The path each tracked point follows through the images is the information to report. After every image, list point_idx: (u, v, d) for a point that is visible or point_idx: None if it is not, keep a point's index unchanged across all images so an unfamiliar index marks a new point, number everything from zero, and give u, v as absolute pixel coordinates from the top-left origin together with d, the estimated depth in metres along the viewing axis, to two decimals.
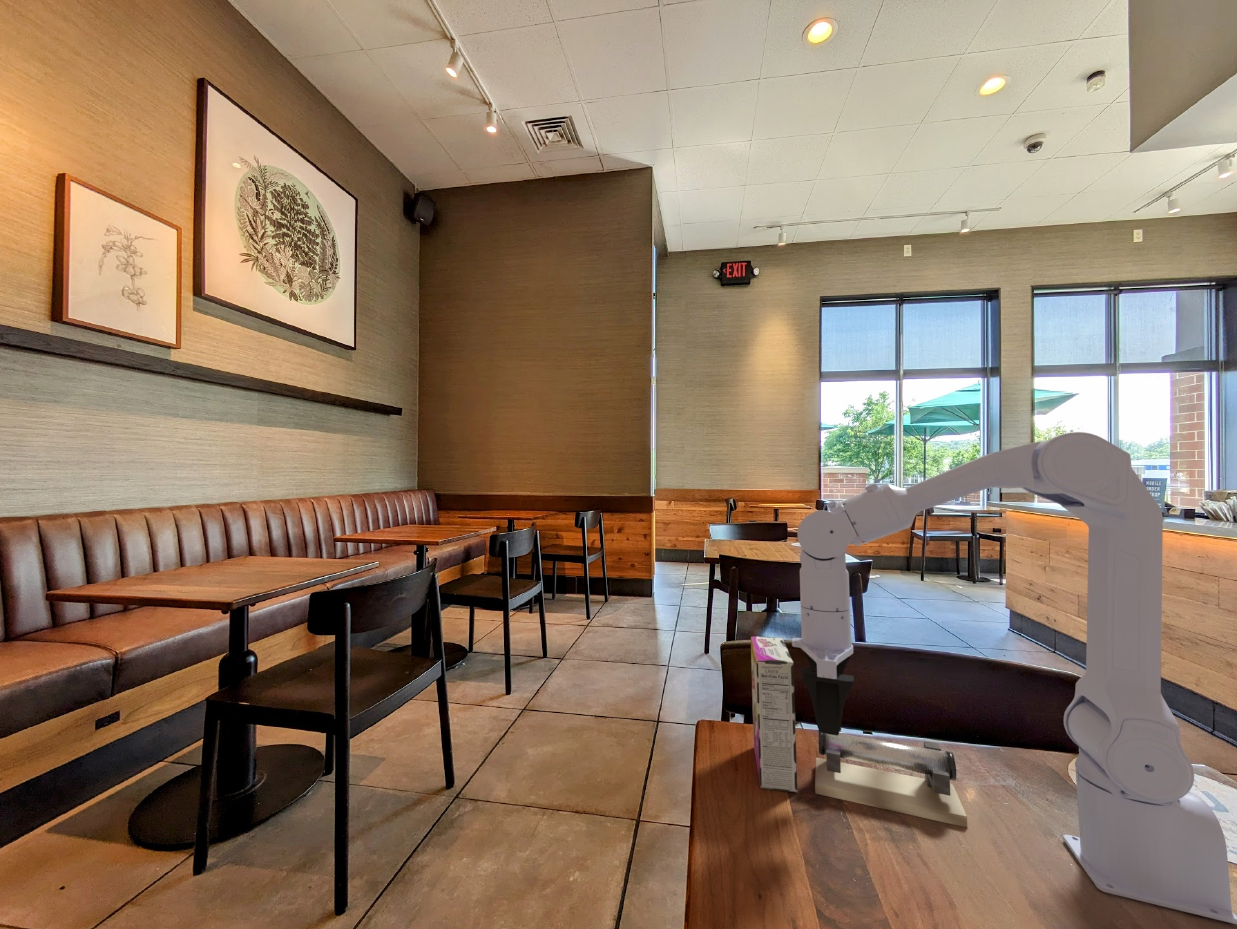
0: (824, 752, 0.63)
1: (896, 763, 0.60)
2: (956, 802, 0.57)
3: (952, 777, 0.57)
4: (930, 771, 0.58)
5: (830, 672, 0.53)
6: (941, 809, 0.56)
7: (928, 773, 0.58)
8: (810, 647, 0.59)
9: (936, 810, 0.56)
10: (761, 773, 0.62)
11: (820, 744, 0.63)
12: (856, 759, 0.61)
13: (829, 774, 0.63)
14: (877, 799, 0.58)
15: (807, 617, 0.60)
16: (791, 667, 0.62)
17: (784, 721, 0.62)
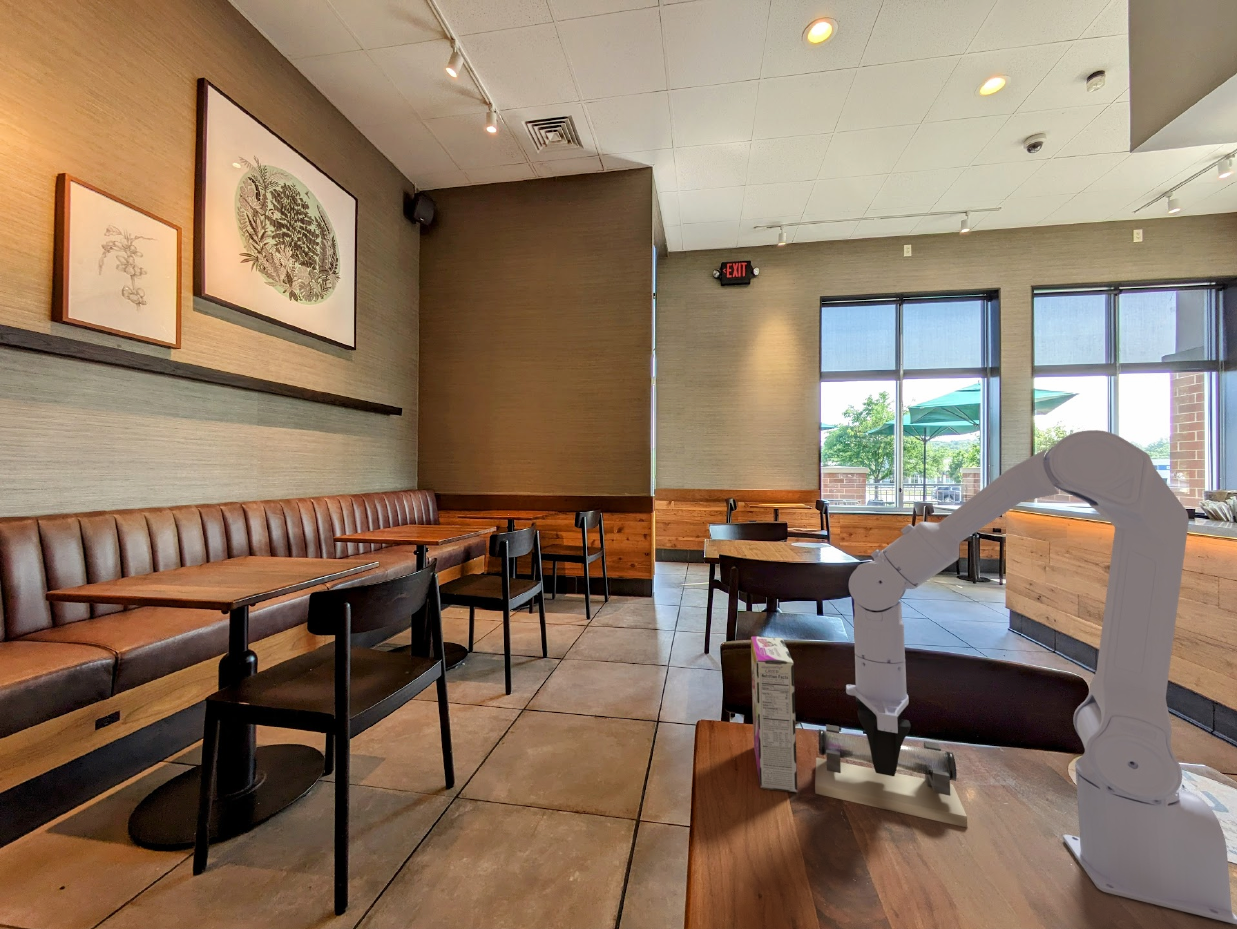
0: (824, 753, 0.63)
1: None
2: (956, 802, 0.57)
3: (952, 778, 0.57)
4: (930, 772, 0.58)
5: (891, 726, 0.55)
6: (941, 809, 0.56)
7: (928, 773, 0.58)
8: (866, 697, 0.60)
9: (936, 810, 0.56)
10: (761, 773, 0.62)
11: (820, 745, 0.63)
12: (856, 759, 0.61)
13: (829, 774, 0.63)
14: (877, 799, 0.58)
15: (863, 667, 0.61)
16: (791, 667, 0.62)
17: (784, 721, 0.62)
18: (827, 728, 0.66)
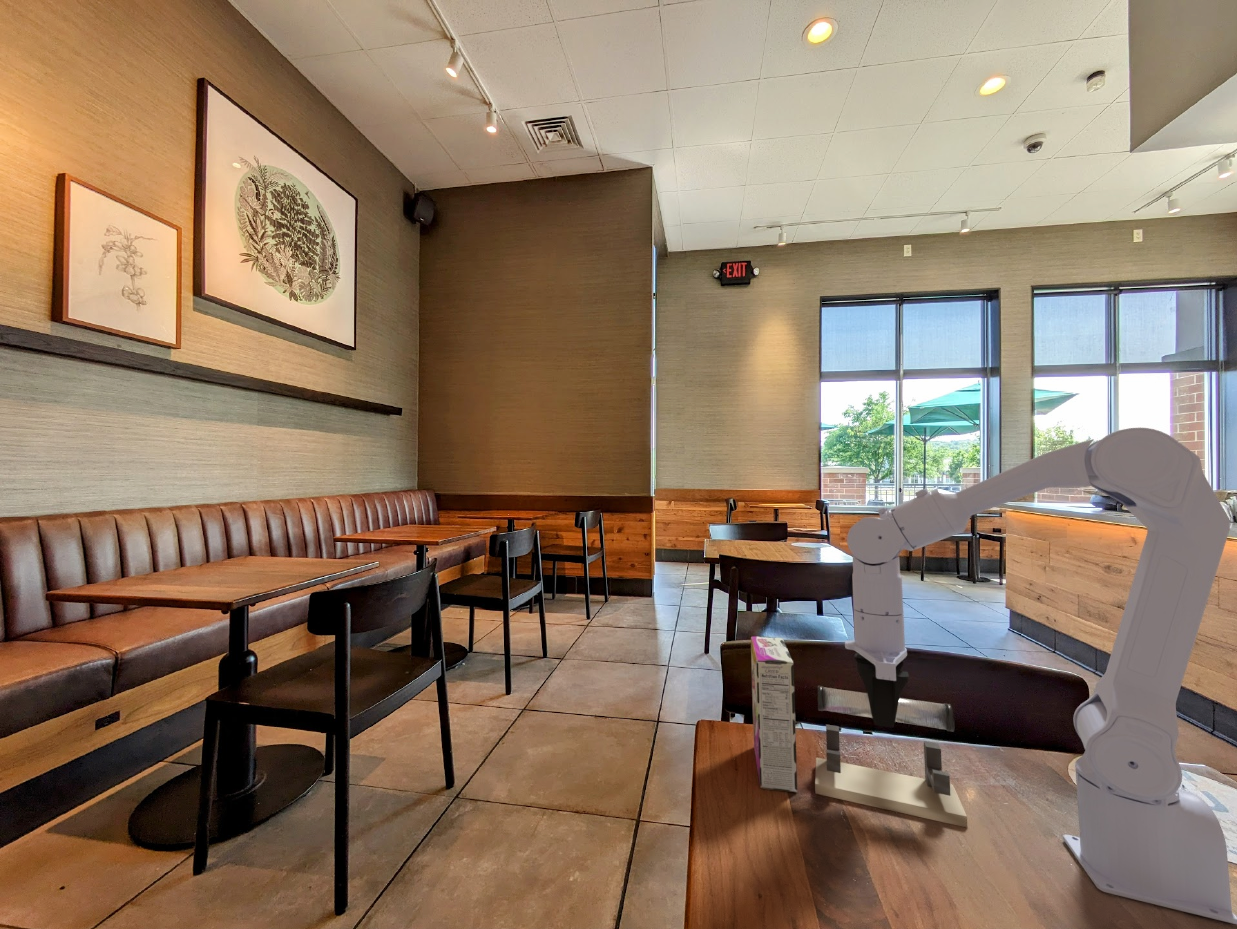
0: (823, 708, 0.63)
1: None
2: (956, 802, 0.57)
3: (950, 728, 0.58)
4: (928, 723, 0.59)
5: (889, 674, 0.55)
6: (941, 809, 0.56)
7: (926, 725, 0.59)
8: (865, 650, 0.61)
9: (936, 810, 0.56)
10: (761, 773, 0.62)
11: (819, 700, 0.63)
12: (855, 713, 0.62)
13: (829, 774, 0.63)
14: (877, 799, 0.58)
15: (861, 621, 0.61)
16: (791, 667, 0.62)
17: (784, 721, 0.62)
18: (827, 728, 0.66)
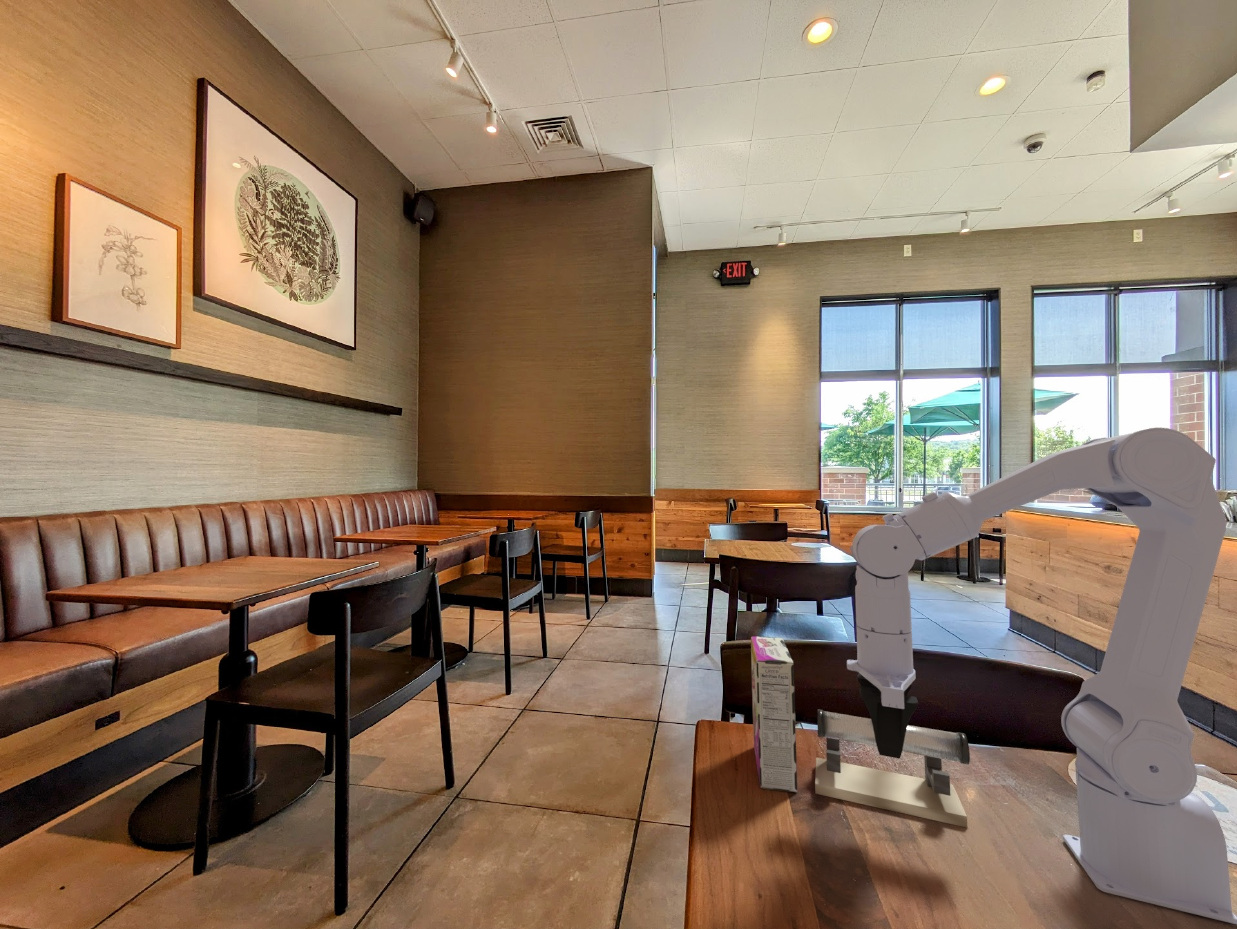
0: (823, 734, 0.57)
1: (903, 745, 0.54)
2: (956, 802, 0.57)
3: (965, 761, 0.52)
4: (940, 754, 0.53)
5: (897, 701, 0.50)
6: (941, 809, 0.56)
7: (938, 756, 0.53)
8: (869, 671, 0.55)
9: (936, 810, 0.56)
10: (761, 773, 0.62)
11: (819, 726, 0.57)
12: (859, 741, 0.56)
13: (829, 774, 0.63)
14: (877, 799, 0.58)
15: (865, 639, 0.56)
16: (791, 667, 0.62)
17: (784, 721, 0.62)
18: None
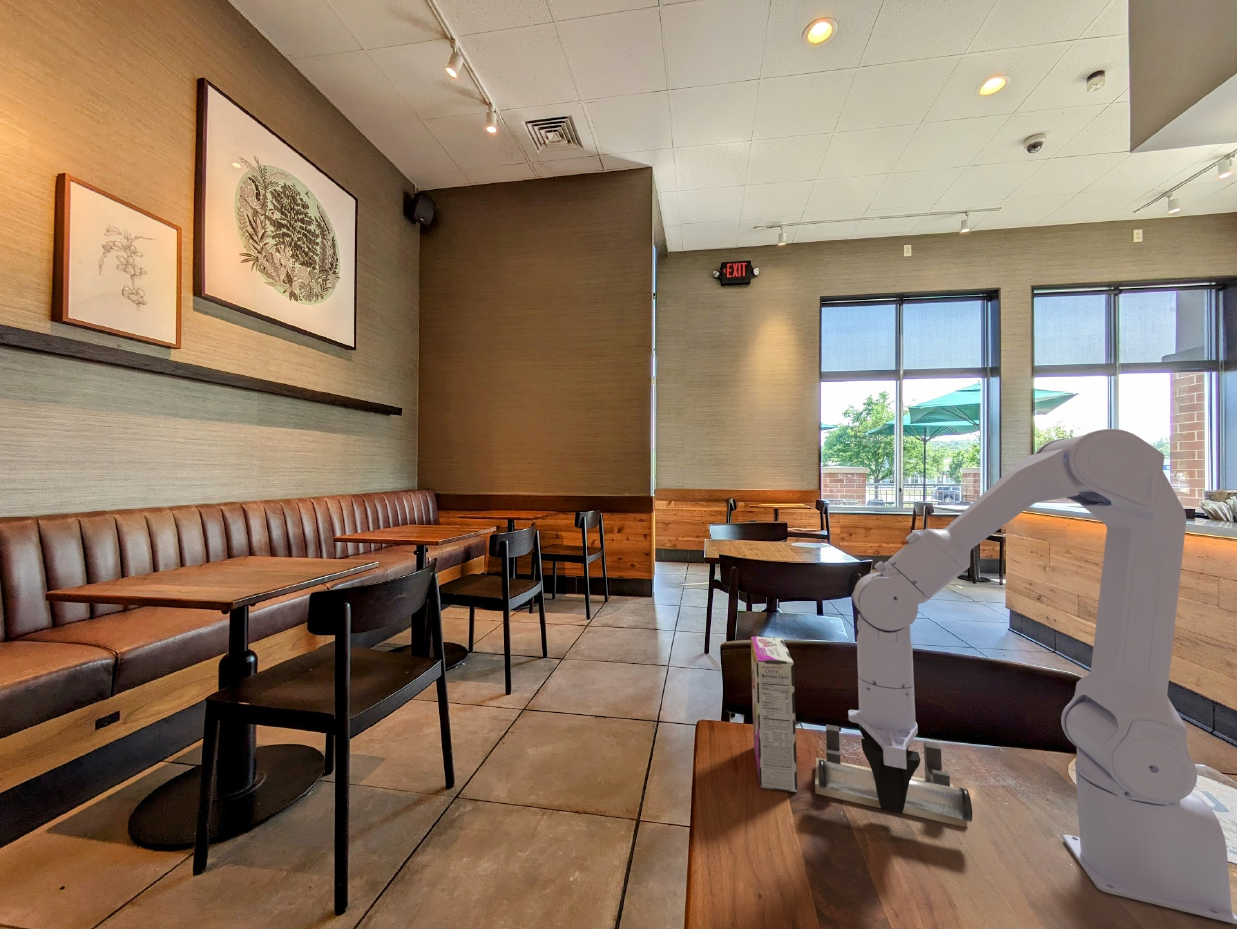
0: (825, 786, 0.57)
1: (905, 801, 0.54)
2: None
3: (967, 818, 0.51)
4: (943, 811, 0.52)
5: (899, 761, 0.49)
6: None
7: (940, 813, 0.53)
8: (871, 725, 0.54)
9: None
10: (761, 773, 0.62)
11: (820, 777, 0.57)
12: (860, 794, 0.56)
13: None
14: None
15: (867, 692, 0.55)
16: (791, 667, 0.62)
17: (784, 721, 0.62)
18: (827, 728, 0.66)
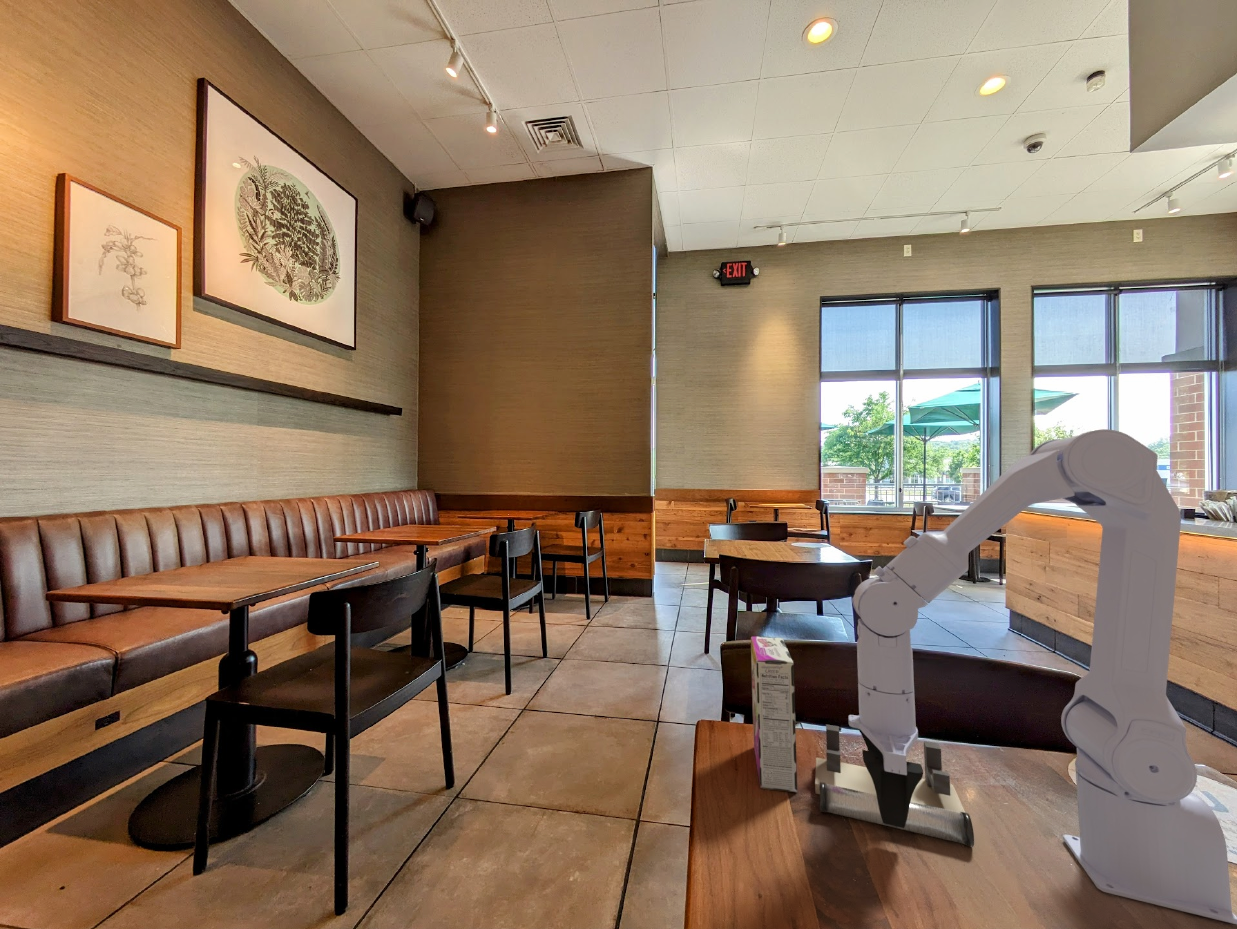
0: (826, 809, 0.57)
1: (906, 825, 0.53)
2: (956, 802, 0.57)
3: (969, 843, 0.51)
4: (944, 836, 0.52)
5: (899, 767, 0.49)
6: None
7: (942, 837, 0.52)
8: (871, 731, 0.54)
9: None
10: (761, 773, 0.62)
11: (821, 801, 0.57)
12: (862, 818, 0.55)
13: (829, 774, 0.63)
14: None
15: (867, 697, 0.55)
16: (791, 667, 0.62)
17: (784, 721, 0.62)
18: (827, 728, 0.66)
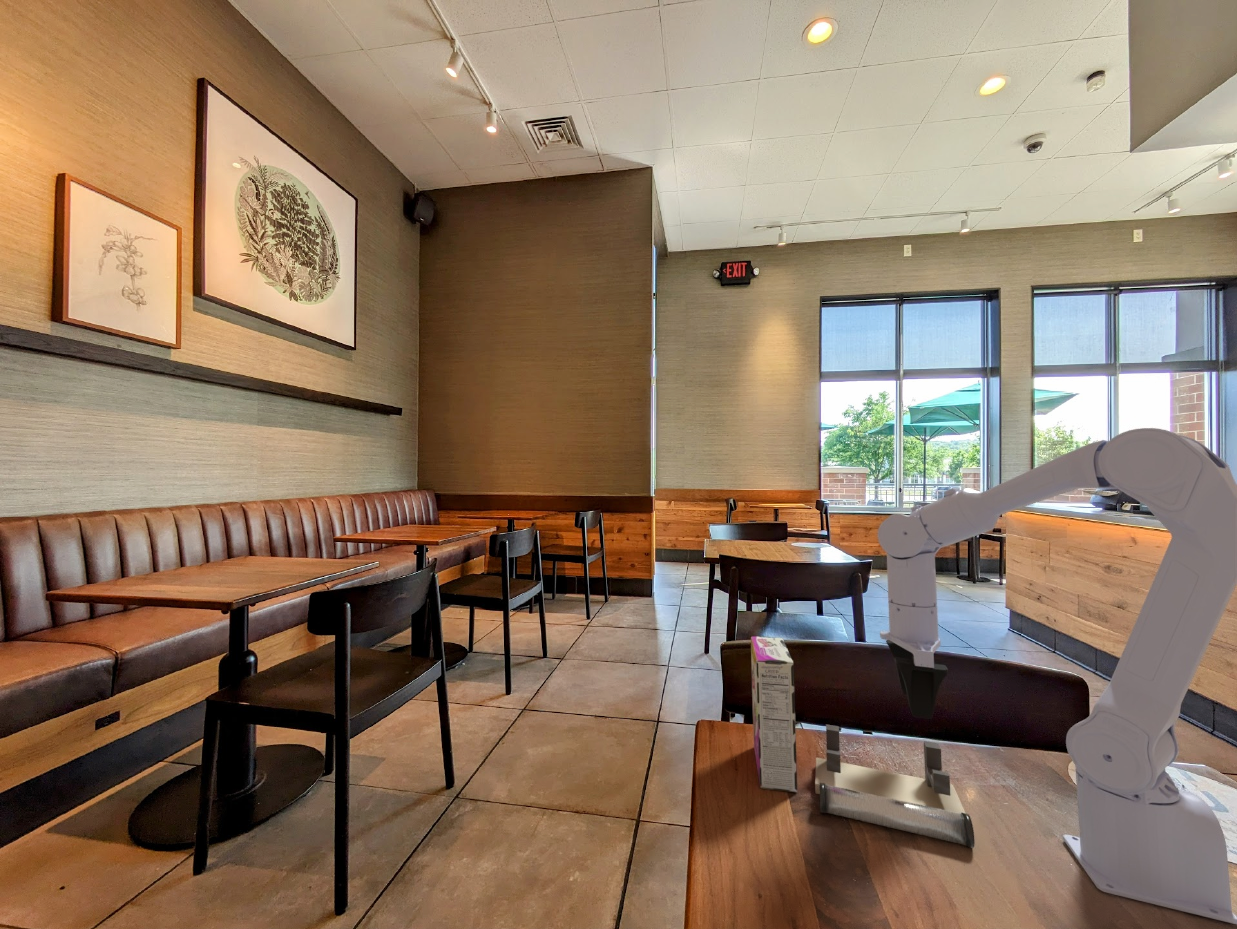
0: (826, 811, 0.57)
1: (906, 827, 0.53)
2: (956, 802, 0.57)
3: (969, 845, 0.51)
4: (944, 838, 0.52)
5: (928, 661, 0.59)
6: None
7: (942, 839, 0.52)
8: (901, 639, 0.64)
9: None
10: (761, 773, 0.62)
11: (821, 803, 0.57)
12: (862, 820, 0.55)
13: (829, 774, 0.63)
14: None
15: (897, 612, 0.65)
16: (791, 667, 0.62)
17: (784, 721, 0.62)
18: (827, 728, 0.66)
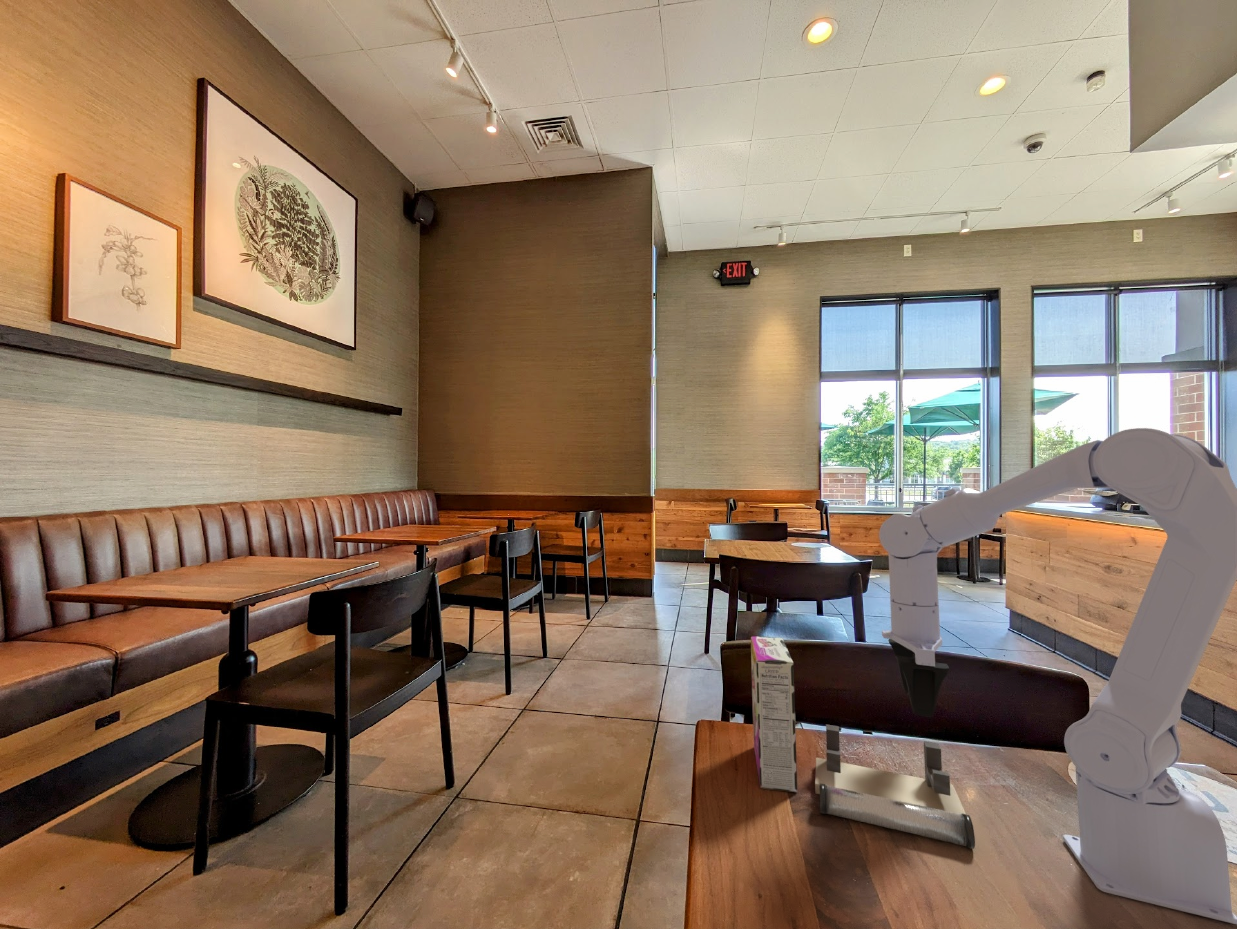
0: (826, 812, 0.57)
1: (907, 829, 0.53)
2: (956, 802, 0.57)
3: (969, 847, 0.51)
4: (945, 839, 0.52)
5: (929, 660, 0.60)
6: (941, 809, 0.56)
7: (942, 840, 0.52)
8: (903, 638, 0.65)
9: None
10: (761, 773, 0.62)
11: (821, 805, 0.56)
12: (862, 821, 0.55)
13: (829, 774, 0.63)
14: None
15: (899, 611, 0.66)
16: (791, 667, 0.62)
17: (784, 721, 0.62)
18: (827, 728, 0.66)
